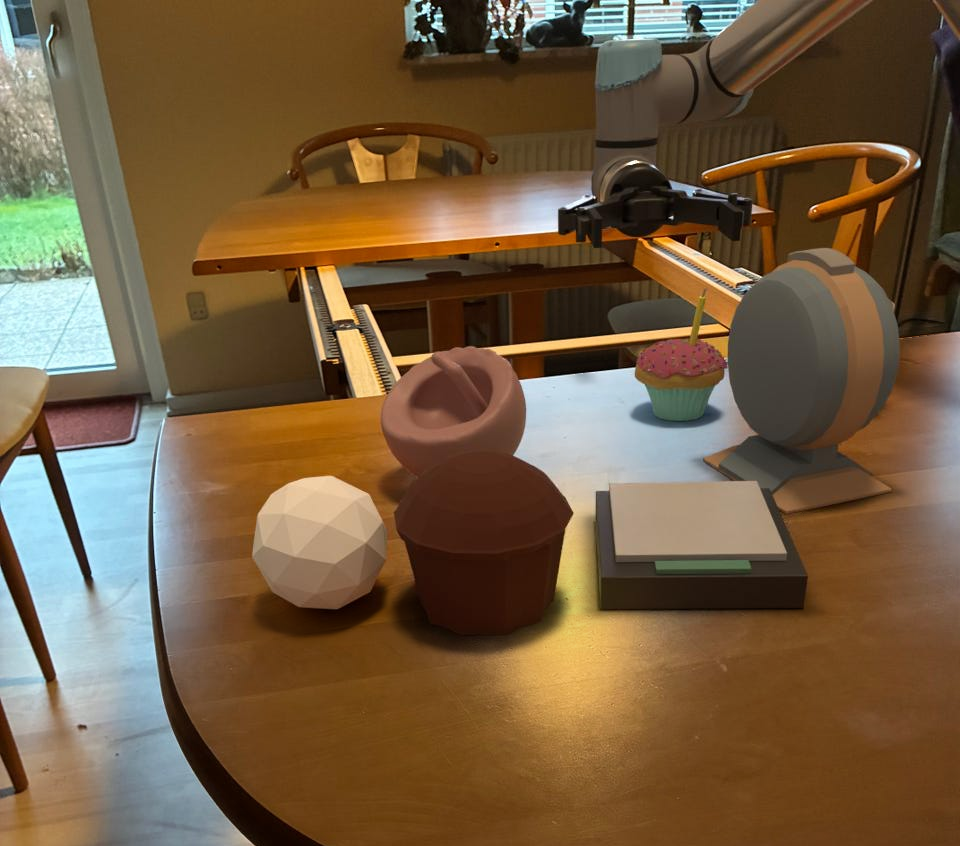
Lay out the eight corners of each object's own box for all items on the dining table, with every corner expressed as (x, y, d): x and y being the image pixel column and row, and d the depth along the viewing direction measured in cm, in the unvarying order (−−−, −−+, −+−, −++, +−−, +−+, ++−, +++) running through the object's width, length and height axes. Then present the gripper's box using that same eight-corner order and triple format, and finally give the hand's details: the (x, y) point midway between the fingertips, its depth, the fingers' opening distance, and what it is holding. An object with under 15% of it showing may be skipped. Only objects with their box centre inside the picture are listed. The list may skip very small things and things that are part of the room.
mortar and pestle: (359, 492, 83) (342, 356, 77) (445, 447, 91) (436, 321, 85) (473, 522, 77) (464, 377, 71) (554, 470, 85) (553, 337, 79)
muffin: (373, 593, 68) (356, 456, 62) (506, 548, 72) (501, 417, 67) (463, 669, 59) (452, 517, 54) (608, 612, 64) (611, 468, 59)
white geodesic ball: (425, 590, 64) (380, 538, 74) (364, 467, 59) (325, 430, 70) (306, 655, 63) (278, 594, 73) (235, 535, 58) (216, 488, 69)
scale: (766, 516, 75) (770, 480, 73) (803, 608, 63) (809, 567, 61) (595, 519, 76) (595, 483, 74) (600, 609, 64) (601, 569, 63)
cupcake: (735, 407, 96) (747, 279, 90) (700, 434, 91) (710, 300, 84) (656, 395, 101) (661, 273, 94) (617, 420, 95) (620, 292, 89)
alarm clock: (900, 496, 77) (945, 258, 68) (793, 519, 74) (825, 275, 65) (792, 438, 88) (818, 229, 79) (697, 456, 86) (712, 242, 77)
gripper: (740, 226, 116) (790, 263, 98) (529, 237, 116) (540, 276, 98) (746, 156, 112) (800, 181, 94) (528, 167, 112) (539, 194, 94)
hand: (667, 229), depth 96 cm, fingers open, 13 cm apart
